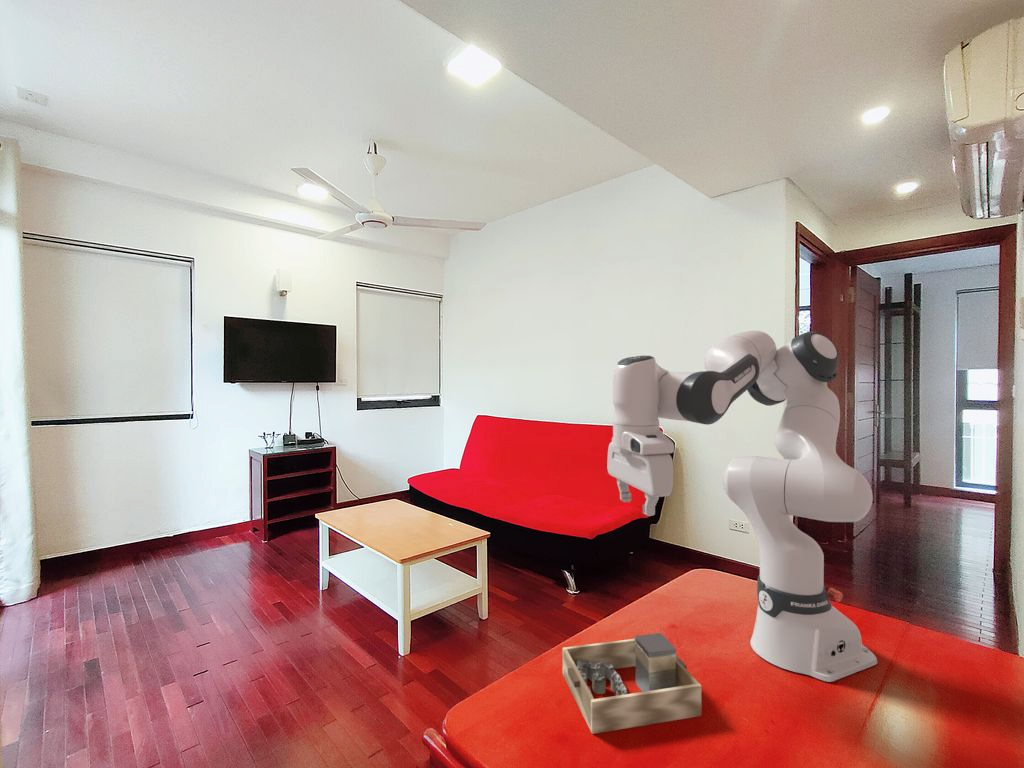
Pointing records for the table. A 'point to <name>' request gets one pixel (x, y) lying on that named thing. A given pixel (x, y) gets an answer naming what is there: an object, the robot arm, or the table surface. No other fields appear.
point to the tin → (654, 662)
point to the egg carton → (601, 677)
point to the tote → (629, 706)
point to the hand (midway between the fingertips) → (636, 507)
